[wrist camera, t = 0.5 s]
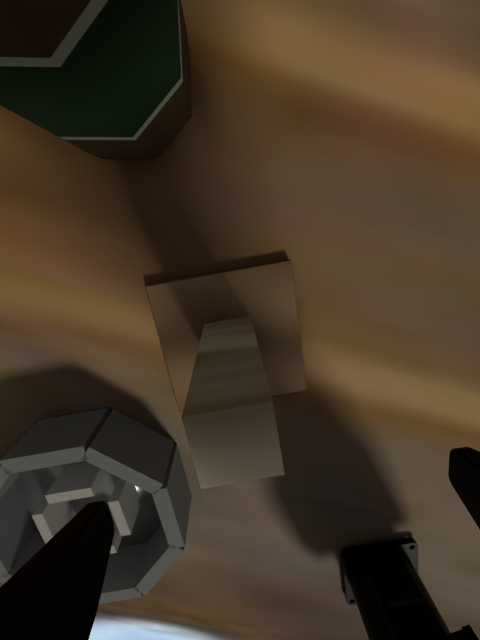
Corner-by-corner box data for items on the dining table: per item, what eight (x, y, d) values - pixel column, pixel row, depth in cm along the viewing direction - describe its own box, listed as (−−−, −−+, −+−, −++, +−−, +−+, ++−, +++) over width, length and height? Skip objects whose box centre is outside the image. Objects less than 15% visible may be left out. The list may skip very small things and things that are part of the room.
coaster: (304, 385, 22) (306, 390, 21) (180, 407, 22) (179, 412, 21) (288, 259, 19) (290, 260, 18) (148, 285, 19) (145, 286, 19)
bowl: (202, 533, 25) (197, 587, 21) (49, 559, 25) (17, 617, 22) (163, 397, 22) (149, 434, 18) (-16, 429, 22) (-68, 472, 18)
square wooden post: (257, 358, 20) (284, 474, 11) (213, 366, 20) (201, 489, 11) (250, 315, 19) (272, 401, 10) (204, 324, 19) (181, 417, 10)
